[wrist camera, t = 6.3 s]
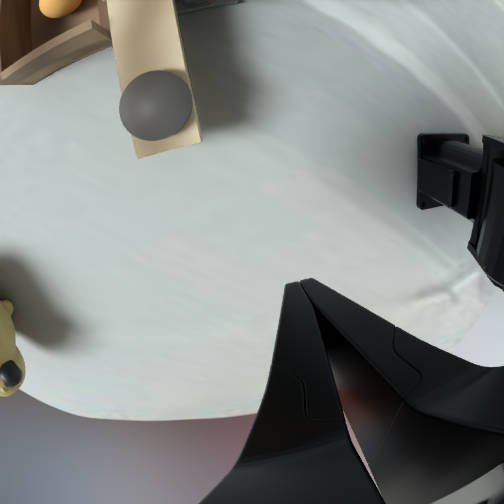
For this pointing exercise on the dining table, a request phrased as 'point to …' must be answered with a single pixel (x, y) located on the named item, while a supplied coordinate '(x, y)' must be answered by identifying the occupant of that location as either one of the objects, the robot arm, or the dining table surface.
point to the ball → (58, 7)
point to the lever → (153, 76)
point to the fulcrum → (200, 4)
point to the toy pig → (9, 353)
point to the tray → (48, 39)
